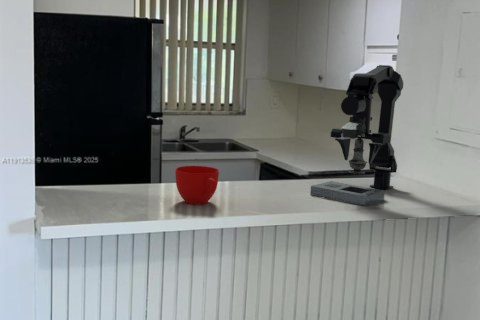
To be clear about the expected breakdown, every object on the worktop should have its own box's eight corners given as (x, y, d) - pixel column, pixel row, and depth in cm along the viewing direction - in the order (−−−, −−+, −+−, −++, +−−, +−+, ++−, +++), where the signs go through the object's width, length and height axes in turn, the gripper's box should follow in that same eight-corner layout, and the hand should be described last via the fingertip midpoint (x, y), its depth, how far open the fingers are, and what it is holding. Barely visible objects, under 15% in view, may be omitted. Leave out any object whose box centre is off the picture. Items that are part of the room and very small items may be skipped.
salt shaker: (365, 171, 196) (368, 135, 194) (367, 174, 190) (369, 137, 188) (347, 170, 197) (349, 134, 195) (348, 173, 191) (351, 136, 189)
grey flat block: (330, 189, 208) (331, 180, 207) (383, 199, 195) (384, 190, 195) (310, 194, 198) (310, 185, 197) (364, 205, 185) (365, 196, 185)
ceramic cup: (193, 212, 168) (194, 177, 166) (167, 199, 182) (168, 166, 180) (232, 208, 175) (234, 174, 173) (204, 196, 189) (205, 164, 187)
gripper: (322, 112, 190) (319, 160, 192) (376, 117, 178) (372, 169, 181) (340, 110, 198) (337, 157, 201) (393, 115, 187) (388, 165, 189)
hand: (357, 162), depth 193 cm, fingers closed on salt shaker, 8 cm apart
